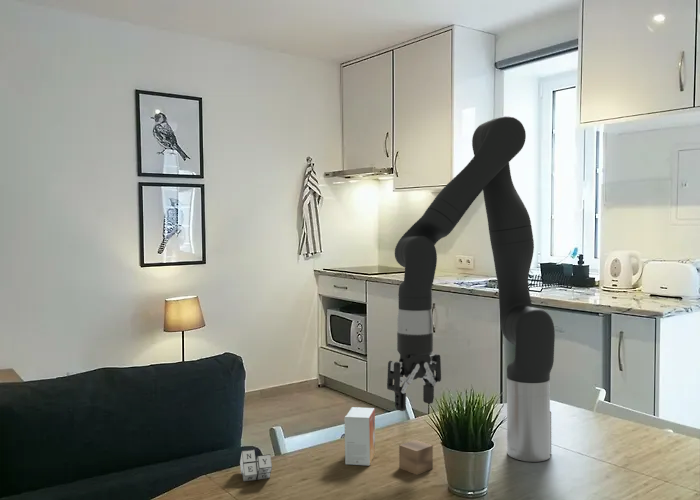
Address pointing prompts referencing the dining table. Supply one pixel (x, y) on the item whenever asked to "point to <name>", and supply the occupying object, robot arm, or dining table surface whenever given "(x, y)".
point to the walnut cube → (415, 457)
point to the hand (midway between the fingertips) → (414, 406)
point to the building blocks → (255, 466)
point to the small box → (359, 436)
